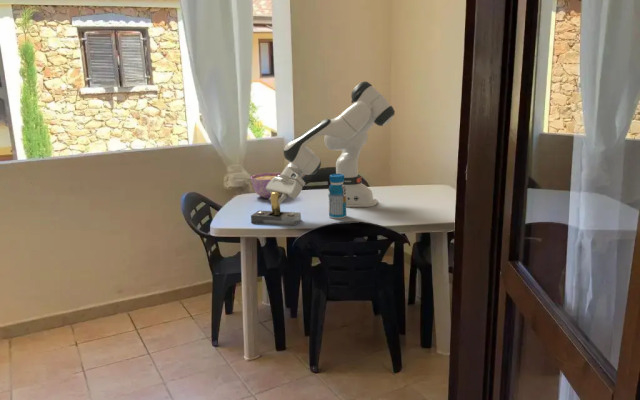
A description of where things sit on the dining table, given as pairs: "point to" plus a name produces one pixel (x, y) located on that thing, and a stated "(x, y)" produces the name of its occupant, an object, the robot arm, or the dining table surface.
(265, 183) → the bowl of food
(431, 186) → the dining table surface
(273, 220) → the gray metal fixture block
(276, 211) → the brass pin
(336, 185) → the beverage bottle
